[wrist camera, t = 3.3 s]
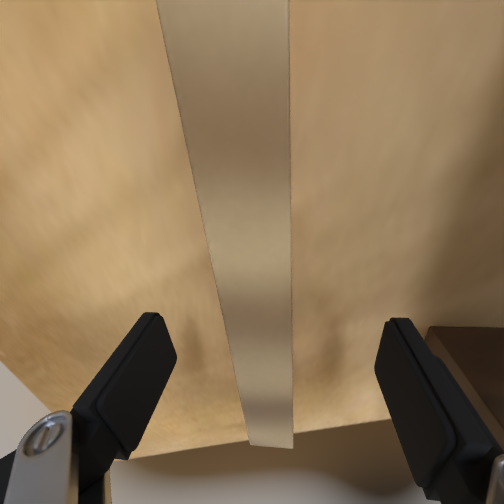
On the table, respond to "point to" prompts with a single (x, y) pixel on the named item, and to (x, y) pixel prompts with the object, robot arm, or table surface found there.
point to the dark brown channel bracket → (475, 368)
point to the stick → (242, 185)
